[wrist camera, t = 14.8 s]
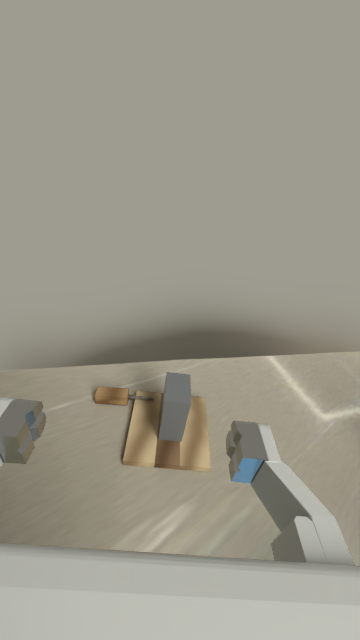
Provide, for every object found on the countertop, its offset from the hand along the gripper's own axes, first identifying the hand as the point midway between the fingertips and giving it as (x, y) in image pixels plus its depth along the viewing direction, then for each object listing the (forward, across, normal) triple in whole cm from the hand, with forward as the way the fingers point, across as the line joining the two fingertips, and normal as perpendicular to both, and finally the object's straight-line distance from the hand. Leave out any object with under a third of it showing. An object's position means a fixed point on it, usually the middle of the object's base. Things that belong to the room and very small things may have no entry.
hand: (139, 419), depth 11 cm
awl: (+26, +5, +32) cm, 41 cm away
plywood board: (+21, -4, +32) cm, 39 cm away
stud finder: (+21, -4, +31) cm, 38 cm away
